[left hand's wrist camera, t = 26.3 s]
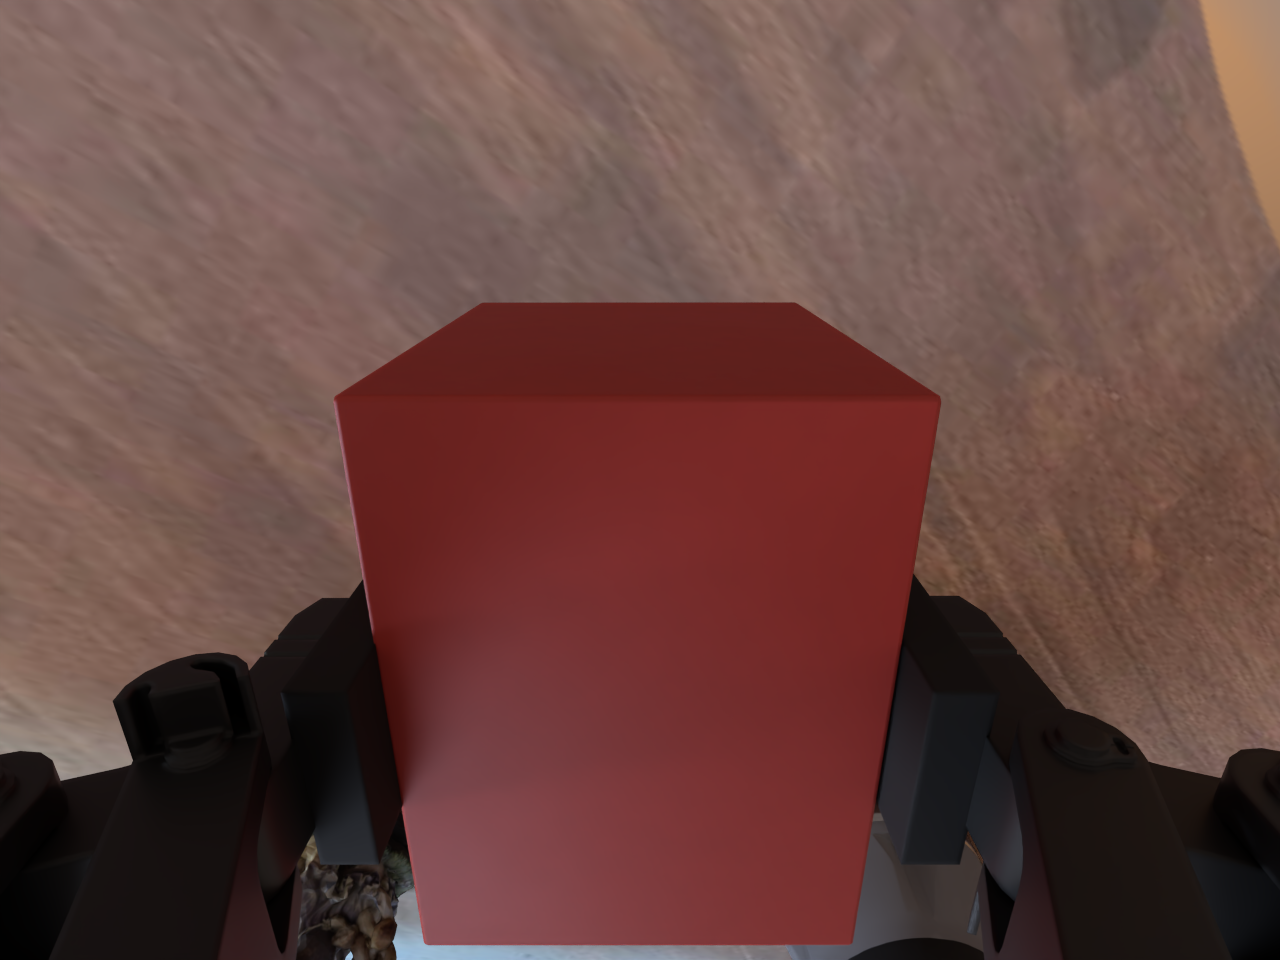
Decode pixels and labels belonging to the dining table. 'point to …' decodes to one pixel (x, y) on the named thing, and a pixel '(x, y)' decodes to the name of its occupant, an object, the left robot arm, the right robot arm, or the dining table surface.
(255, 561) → the dining table surface
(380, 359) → the dining table surface
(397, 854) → the figurine
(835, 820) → the brick
